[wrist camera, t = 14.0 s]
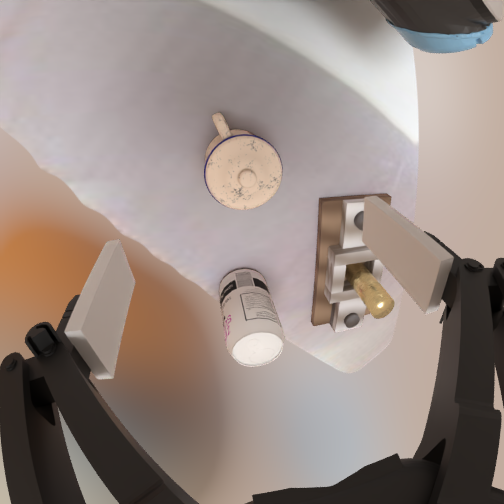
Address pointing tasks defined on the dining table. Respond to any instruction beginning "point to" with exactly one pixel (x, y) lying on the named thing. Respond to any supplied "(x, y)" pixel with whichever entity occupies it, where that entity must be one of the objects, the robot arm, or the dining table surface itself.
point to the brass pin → (369, 290)
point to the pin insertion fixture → (341, 262)
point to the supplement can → (250, 319)
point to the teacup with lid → (241, 167)
